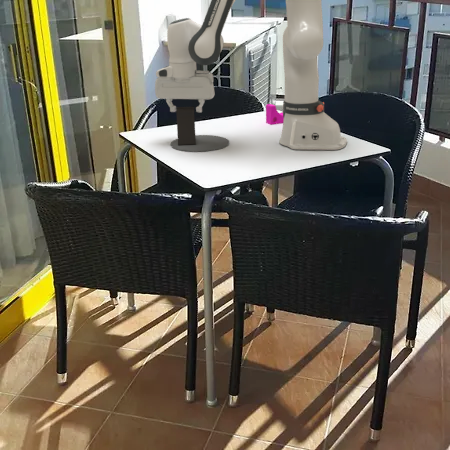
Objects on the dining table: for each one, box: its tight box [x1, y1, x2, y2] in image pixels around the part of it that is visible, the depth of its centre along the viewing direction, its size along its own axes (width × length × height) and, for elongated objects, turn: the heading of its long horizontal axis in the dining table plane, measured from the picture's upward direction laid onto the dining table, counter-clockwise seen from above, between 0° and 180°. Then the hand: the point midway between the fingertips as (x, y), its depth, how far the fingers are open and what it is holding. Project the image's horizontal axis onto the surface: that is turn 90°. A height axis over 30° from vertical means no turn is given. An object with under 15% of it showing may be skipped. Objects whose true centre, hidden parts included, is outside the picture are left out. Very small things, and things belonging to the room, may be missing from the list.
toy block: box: [265, 103, 284, 126], centre depth 243 cm, size 15×6×8 cm, turn 116°
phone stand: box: [175, 106, 196, 146], centre depth 216 cm, size 9×6×12 cm, turn 3°
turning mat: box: [170, 134, 230, 153], centre depth 217 cm, size 20×20×1 cm
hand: (186, 111), depth 215 cm, fingers open, 8 cm apart
